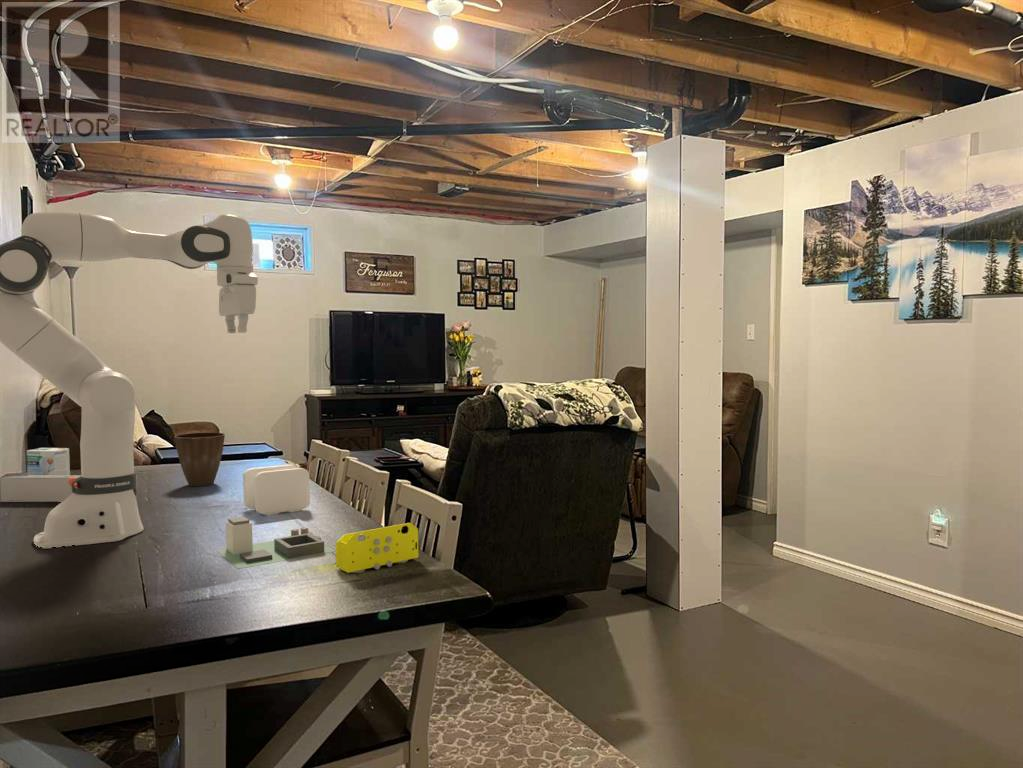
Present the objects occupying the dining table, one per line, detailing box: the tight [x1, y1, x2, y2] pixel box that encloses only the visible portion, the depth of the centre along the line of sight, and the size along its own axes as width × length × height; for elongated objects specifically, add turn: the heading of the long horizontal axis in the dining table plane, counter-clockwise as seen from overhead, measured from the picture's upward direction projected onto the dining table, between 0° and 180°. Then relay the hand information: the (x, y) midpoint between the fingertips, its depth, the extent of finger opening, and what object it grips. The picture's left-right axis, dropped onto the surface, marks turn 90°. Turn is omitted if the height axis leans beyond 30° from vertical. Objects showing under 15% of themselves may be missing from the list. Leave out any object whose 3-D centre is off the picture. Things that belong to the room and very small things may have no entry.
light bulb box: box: [26, 447, 71, 476], centre depth 243 cm, size 11×7×11 cm, turn 81°
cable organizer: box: [242, 464, 311, 516], centre depth 199 cm, size 15×11×12 cm
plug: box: [225, 516, 254, 554], centre depth 155 cm, size 4×5×7 cm
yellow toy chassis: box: [335, 522, 419, 574], centre depth 149 cm, size 16×6×8 cm, turn 129°
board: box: [215, 527, 336, 570], centre depth 155 cm, size 20×16×4 cm
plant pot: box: [174, 432, 225, 487], centre depth 236 cm, size 15×15×16 cm
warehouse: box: [0, 474, 81, 502], centre depth 217 cm, size 30×14×8 cm, turn 88°
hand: (236, 332), depth 191 cm, fingers open, 8 cm apart
